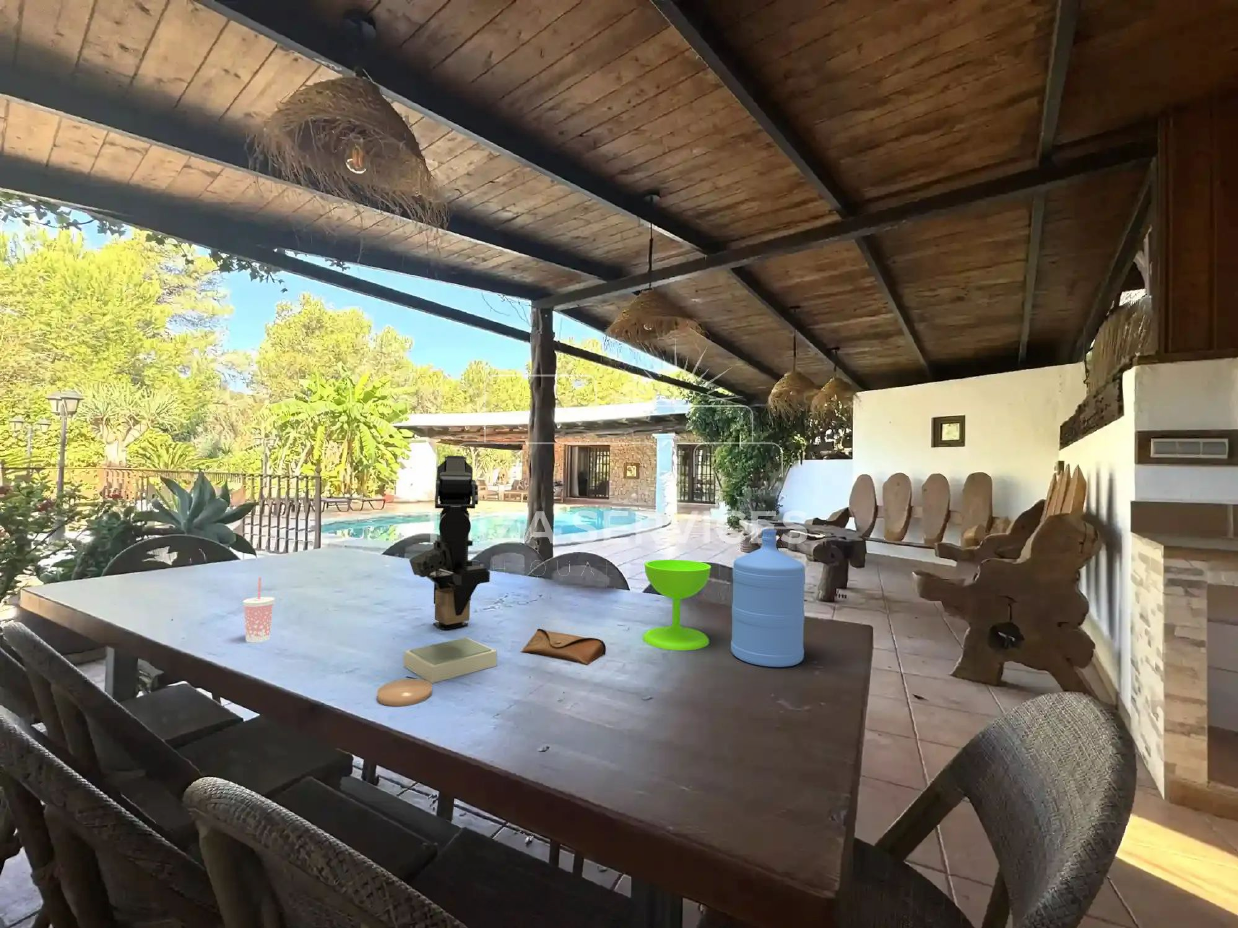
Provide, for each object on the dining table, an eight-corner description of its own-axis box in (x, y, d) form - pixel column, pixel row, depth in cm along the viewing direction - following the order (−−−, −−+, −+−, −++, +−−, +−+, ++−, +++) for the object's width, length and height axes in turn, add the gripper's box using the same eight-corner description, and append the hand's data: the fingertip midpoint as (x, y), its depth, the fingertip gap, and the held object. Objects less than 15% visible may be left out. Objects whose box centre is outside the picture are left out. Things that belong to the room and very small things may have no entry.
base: (403, 666, 111) (404, 649, 111) (466, 651, 121) (466, 635, 121) (431, 683, 103) (432, 665, 103) (496, 665, 113) (496, 649, 113)
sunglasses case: (516, 652, 121) (525, 622, 124) (530, 660, 127) (539, 631, 130) (589, 665, 114) (597, 633, 117) (601, 673, 119) (608, 642, 123)
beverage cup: (270, 641, 124) (272, 579, 124) (238, 644, 122) (240, 580, 122) (276, 634, 130) (278, 574, 130) (245, 636, 128) (247, 575, 128)
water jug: (808, 671, 114) (811, 535, 114) (730, 664, 117) (733, 532, 117) (799, 648, 129) (801, 528, 129) (730, 642, 132) (733, 525, 132)
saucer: (368, 694, 97) (368, 687, 97) (417, 681, 103) (418, 674, 103) (390, 710, 91) (390, 703, 91) (441, 696, 97) (441, 689, 97)
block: (434, 619, 112) (435, 589, 112) (457, 615, 116) (457, 586, 116) (446, 624, 109) (447, 594, 109) (469, 620, 112) (470, 590, 112)
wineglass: (635, 645, 128) (637, 567, 128) (651, 627, 143) (653, 557, 144) (704, 653, 123) (706, 573, 124) (713, 633, 139) (714, 562, 139)
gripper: (395, 533, 113) (393, 609, 113) (439, 543, 100) (436, 630, 100) (445, 530, 121) (443, 601, 121) (492, 539, 108) (490, 619, 108)
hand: (452, 612), depth 112 cm, fingers closed on block, 5 cm apart
